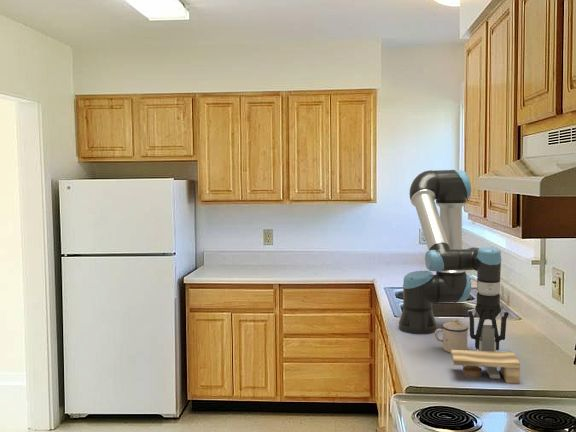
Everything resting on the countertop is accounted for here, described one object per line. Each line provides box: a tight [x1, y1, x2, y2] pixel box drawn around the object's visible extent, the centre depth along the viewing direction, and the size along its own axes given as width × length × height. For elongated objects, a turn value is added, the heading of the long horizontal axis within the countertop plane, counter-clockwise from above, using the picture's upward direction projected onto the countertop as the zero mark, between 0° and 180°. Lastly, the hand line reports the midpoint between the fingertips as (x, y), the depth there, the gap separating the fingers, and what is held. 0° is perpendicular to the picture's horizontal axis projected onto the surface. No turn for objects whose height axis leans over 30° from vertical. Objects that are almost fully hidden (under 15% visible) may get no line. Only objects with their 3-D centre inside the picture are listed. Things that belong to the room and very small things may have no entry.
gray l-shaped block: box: [480, 324, 501, 380], centre depth 196 cm, size 18×4×12 cm, turn 170°
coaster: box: [462, 366, 483, 379], centre depth 193 cm, size 6×6×2 cm
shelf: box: [450, 349, 521, 384], centre depth 191 cm, size 10×20×6 cm, turn 80°
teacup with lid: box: [433, 317, 469, 353], centre depth 215 cm, size 12×9×12 cm
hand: (486, 358), depth 203 cm, fingers closed on gray l-shaped block, 4 cm apart
